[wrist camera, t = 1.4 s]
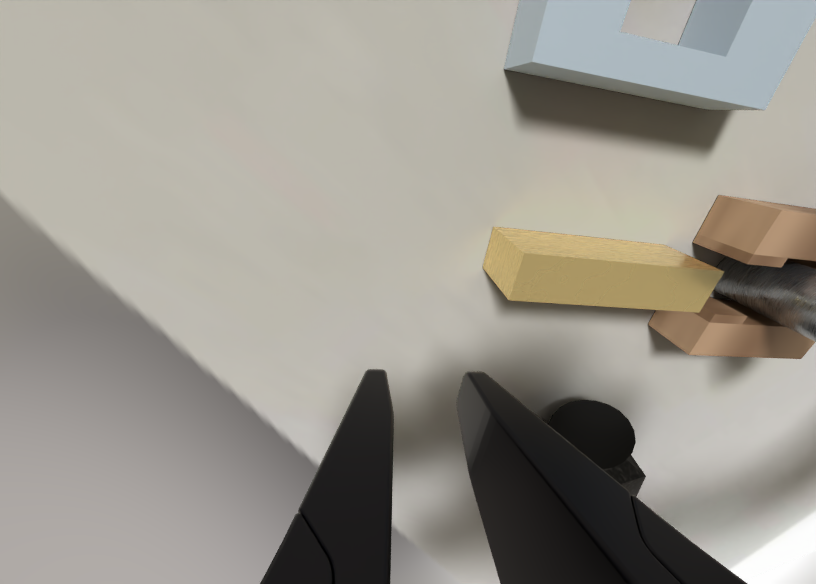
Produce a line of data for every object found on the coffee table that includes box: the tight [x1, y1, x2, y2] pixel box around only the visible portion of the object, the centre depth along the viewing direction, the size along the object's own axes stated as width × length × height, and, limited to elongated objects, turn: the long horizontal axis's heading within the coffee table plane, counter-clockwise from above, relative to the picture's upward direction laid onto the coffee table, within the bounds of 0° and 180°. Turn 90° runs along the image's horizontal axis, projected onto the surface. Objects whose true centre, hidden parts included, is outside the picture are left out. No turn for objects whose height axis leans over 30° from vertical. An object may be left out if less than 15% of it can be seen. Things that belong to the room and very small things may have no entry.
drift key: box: [483, 227, 724, 313], centre depth 17 cm, size 10×2×4 cm, turn 81°
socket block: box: [648, 195, 816, 359], centre depth 19 cm, size 8×8×3 cm
